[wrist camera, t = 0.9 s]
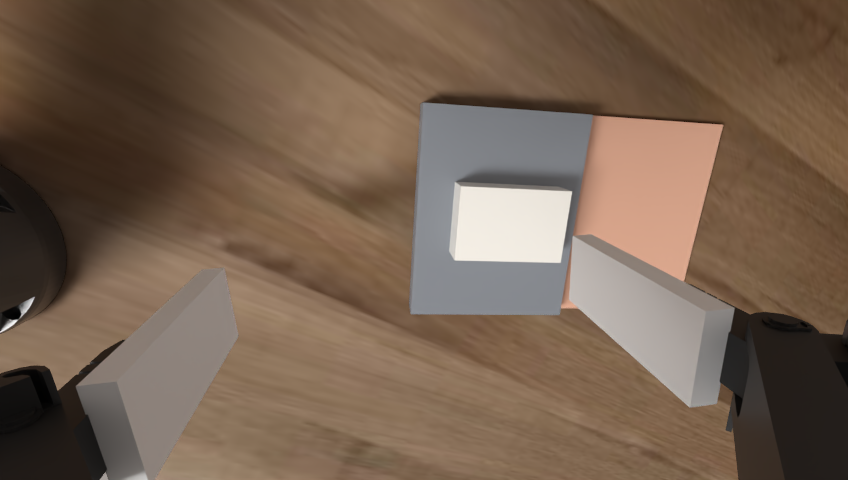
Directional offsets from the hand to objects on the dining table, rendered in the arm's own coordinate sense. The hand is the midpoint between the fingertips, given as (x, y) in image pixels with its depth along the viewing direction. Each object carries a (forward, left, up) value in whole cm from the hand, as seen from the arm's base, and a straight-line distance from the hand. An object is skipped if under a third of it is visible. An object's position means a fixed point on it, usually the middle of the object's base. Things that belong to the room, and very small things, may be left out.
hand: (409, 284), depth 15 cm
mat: (+23, -2, -21) cm, 31 cm away
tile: (+10, -2, -19) cm, 21 cm away
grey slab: (+9, -2, -21) cm, 23 cm away
